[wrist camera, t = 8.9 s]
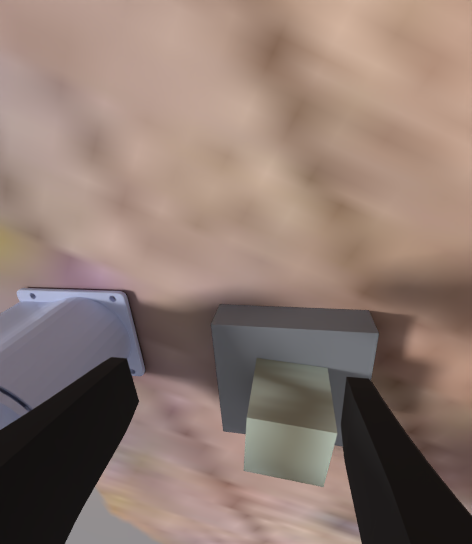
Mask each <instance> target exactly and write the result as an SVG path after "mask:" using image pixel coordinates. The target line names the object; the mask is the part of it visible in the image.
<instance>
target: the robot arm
mask: <svg viewBox="0 0 472 544" xmlns="http://www.w3.org/2000/svg"><path fill="white" fill-rule="evenodd" d="M17 296H18V298H19V301H20V302H19V303H17V304H15V305H14V306H12V307H10V308H9V309H7V310H5V311H4V312H2V313H0V544H65V542H66V540H67V538H68V536H69V534H70V532H71V530H72V528H73V525H74V523H75V521H76V520H77V518H78V516H79V514H80V512H81V510H82V508H83V506H84V505H85V503H86V501H87V499H88V498H89V496H90V494H91V492H92V490H93V489H94V487H95V485H96V484H97V482H98V480H99V478H100V477H101V475H102V473H103V472H104V470H105V468H106V466H107V465H108V463H109V461H110V459H111V458H112V456H113V454H114V452H115V451H116V449H117V447H118V445H119V444H120V442H121V440H122V438H123V436H124V435H125V433H126V431H127V429H128V426H129V424H130V422H131V420H132V417H133V415H134V412H135V410H136V407H137V405H138V403H139V400H138V396H137V393H136V389H135V386H134V382H133V378H132V376H142V375H143V374H144V373H145V367H144V362H143V358H142V354H141V350H140V346H139V342H138V338H137V334H136V330H135V326H134V322H133V318H132V314H131V310H130V306H129V302H128V298H127V295H126V294H125V293H124V292H122V291H104V290H72V289H39V288H21V289H20V290H18V291H17ZM112 296H114V297H115V299H114V298H113V297H112ZM341 433H342V442H343V451H344V459H345V465H346V470H347V475H348V480H349V485H350V489H351V494H352V499H353V504H354V508H355V513H356V518H357V522H358V527H359V532H360V537H361V541H362V544H472V515H471V514H470V513H469V512H468V511H467V509H466V508H465V507H464V506H463V505H462V503H461V502H460V501H459V500H458V499H457V498H456V496H455V495H454V494H453V493H452V491H451V490H450V489H449V488H448V486H447V485H446V484H445V483H444V482H443V480H442V479H441V478H440V477H439V475H438V474H437V473H436V472H435V470H434V469H433V468H432V466H431V465H430V464H429V463H428V461H427V460H426V459H425V457H424V456H423V455H422V453H421V452H420V451H419V449H418V448H417V447H416V445H415V444H414V443H413V441H412V440H411V439H410V437H409V436H408V435H407V433H406V432H405V430H404V429H403V428H402V426H401V425H400V423H399V422H398V421H397V419H396V418H395V416H394V415H393V413H392V412H391V411H390V409H389V408H388V406H387V405H386V403H385V402H384V400H383V399H382V397H381V396H380V394H379V392H378V391H377V389H376V388H375V386H374V384H373V383H372V382H371V381H370V380H369V378H357V377H346V385H345V393H344V401H343V409H342V418H341Z"/></svg>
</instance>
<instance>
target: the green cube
mask: <svg viewBox="0 0 472 544" xmlns="http://www.w3.org/2000/svg"><path fill="white" fill-rule="evenodd" d="M336 437H337V427H336V421H335V414H334V407H333V401H332V394H331V387H330V381H329V374H328V368H324V367H317V366H310V365H303V364H296V363H289V362H282V361H275V360H268V359H261V358H257V359H256V365H255V371H254V377H253V383H252V389H251V395H250V401H249V407H248V413H247V422H246V439H245V457H244V471H247V472H252V473H257V474H262V475H267V476H272V477H277V478H282V479H286V480H291V481H296V482H301V483H306V484H311V485H316V486H321V487H323V486H324V483H325V479H326V475H327V471H328V467H329V464H330V460H331V456H332V452H333V448H334V444H335V441H336Z"/></svg>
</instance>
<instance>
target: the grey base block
mask: <svg viewBox="0 0 472 544" xmlns="http://www.w3.org/2000/svg"><path fill="white" fill-rule="evenodd" d="M211 330H212V338H213V347H214V356H215V364H216V373H217V381H218V390H219V399H220V407H221V416H222V424H223V431H225V432H233V433H241V434H246V422H247V413H248V407H249V401H250V395H251V389H252V383H253V377H254V371H255V365H256V359H257V358H261V359H268V360H275V361H282V362H289V363H296V364H303V365H310V366H317V367H324V368H328V374H329V381H330V387H331V394H332V401H333V407H334V414H335V421H336V427H337V437H336V441H335V444H334V445H336V446H343V442H342V433H341V418H342V409H343V401H344V393H345V385H346V377H357V378H369V380H370V381H371V377H372V371H373V365H374V359H375V354H376V348H377V342H378V336H379V332H378V330H377V328H376V326H375V323H374V321H373V319H372V317H371V314H370V312H369V310H349V309H324V308H299V307H274V306H249V305H224V304H220V305H219V307H218V309H217V312H216V314H215V316H214V318H213V321H212V323H211Z"/></svg>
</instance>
